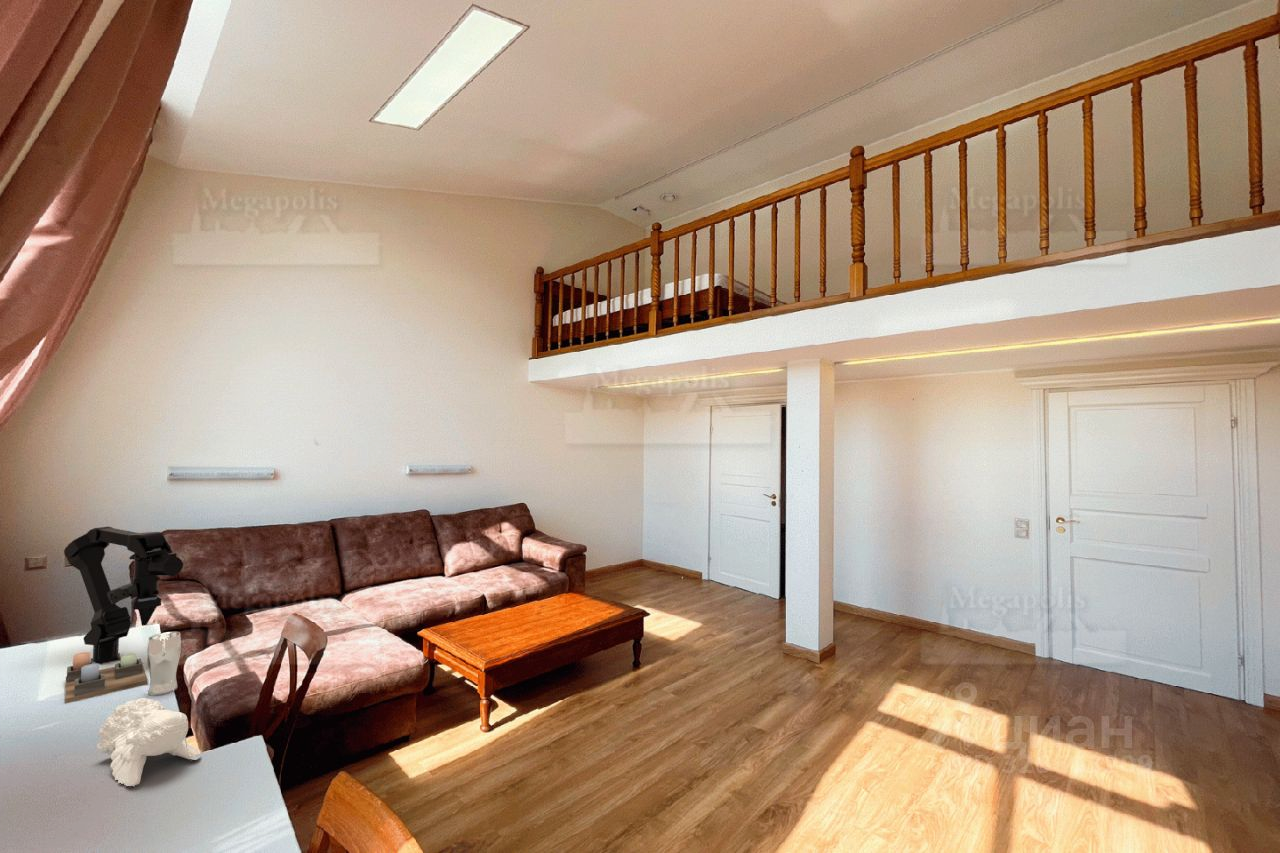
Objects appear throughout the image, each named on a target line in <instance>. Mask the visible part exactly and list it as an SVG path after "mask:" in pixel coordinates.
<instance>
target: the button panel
mask: <svg viewBox="0 0 1280 853" xmlns="http://www.w3.org/2000/svg"><path fill="white" fill-rule="evenodd" d="M90 664H95V661H94V662H91V661H90ZM148 681H149V679H148V677H147V673H146V670H145V667H144V663H143V661H142V658H137V664H136V665H131V666H126V667H121V662H117V663H114V666H111V667H106V668H101V669H99V680H94V681H90V682H85V683H81V669H79V670H74V671H73V665H69V666H67V668H66V676H65V688H64V692H65V693H64V694H65V695H64V704H69V703H72V702H77V701H81V700H85V699H90V698H95V697H98V696H99V697H100V696H103V695H107V694H113V693H116V692H120V691H123V690H128V689H132V688H133V689H134V688H137V687H142V686H146V685H148V684H149V682H148ZM102 694H103V695H102ZM94 696H95V697H94Z"/></svg>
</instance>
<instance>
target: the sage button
mask: <svg viewBox="0 0 1280 853" xmlns="http://www.w3.org/2000/svg"><path fill="white" fill-rule="evenodd" d="M120 658H121V659H120V663H121V667H126V666H131V665H136V664H137V659H138V653H128V654H123V655H121V656H120Z"/></svg>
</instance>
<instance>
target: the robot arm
mask: <svg viewBox="0 0 1280 853" xmlns="http://www.w3.org/2000/svg"><path fill="white" fill-rule="evenodd" d="M110 544H112V545H118V546H123V547H125V548H126V549H127V550H128V551H129V552H131V553H133V554H132V555H130V556H129V557H128V558H129V560H134V563H133V564H134V567H133V577H132V579H131V583H128V584H124V585H121V586H119V587H117V588H114V589H111V587H110V584H109V581H108V578H107V575H106V573H105V571H104V568H103V565H102V563H103V560H104V557H105V556H106V552H105V549H107V548H108V547H109V546H110ZM63 554H64V556H65V558H66V560H67V562H68V564H69V565H70V566H72V567H74V568H75V569H77V570H78V571H79V573H80V575H81V578H82V581H83V584H84V586H85V590H86V592H87V595H88V597H89V598H88V599H89V600H90V603H91V606H92V608H93V611H94V614H93V615H92V618H91V622H90V626H91V629H90V630H89V631H88V632H87V633H86V634H85V636H84V637H83V642H84V645H88V646H93V647H92V658H91V657H90V662H94V661H95V663H98V664H99V665H103V664H106V663H111V662H117V661H121V654H120V652H119V646H120V643H119V642H120V639H121V638H124V637H127V636H128V635H129V631H130V629H131V625H132V620H131V619H132V617H131V616H130V615H131V614H129V610H128V609H129V608H127V607H126V606H123V607H121V606H119V605H117V603H119V602H120V601H123V600H125V599H127V598H130V599H131V600H132V599H133V600H132V601H131V606H132V610H133V611H134V610H138V614H139V619H140V623H141V626H147V625H148V624H149V621H150V619H151V618H152V616H153V614H154V613H155V610H156V609H157V608H158V607H160V606H162V597H161V596H160V595H159V594H160V593H159V592H160V591H159V582H160V577H161V576H162V577H174V576H177V575H178V574H180V573H181V571H182V570H183V567H184V562H183V560H182V559H181V558H180V557H178V555H177V554H178V553H177V552H173V550H172V547H171V545H169V543H168V541H167V539H166V537H165V536H164V534H163V533H162V532H160V531H148V532H147V531H146V532H134V531H130V530H125V529H120V528H114V527H112V526H101V527H94V528H92V529H90V530H89V531H87V532H86V533H85V534H83V535H81V536H79V537H77V538H75V539H73V540H72V541H71V542H69V544H67V546H66V547H65V548H64V550H63Z"/></svg>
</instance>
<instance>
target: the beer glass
mask: <svg viewBox="0 0 1280 853" xmlns="http://www.w3.org/2000/svg"><path fill="white" fill-rule="evenodd" d="M181 650H182V640H181V632H180V631H166V632H162V633H156V634H154V635H151V636H149V637H148V644H147V650H146V651H147V652H146V656H147V657H146V658H147V660H146V661H147V667H148V672H149V677H150V682H149V687H148V691H147V695H148V696H151V697H159V696H163V695H167V694H170V693H172V692H174V691H176V690H177V689H178V682H177V672H178V671H177V670H178V665H179V663H180V662H179V661H180V658H181V652H182V651H181ZM171 680H172V682H171ZM173 689H174V691H173Z"/></svg>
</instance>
